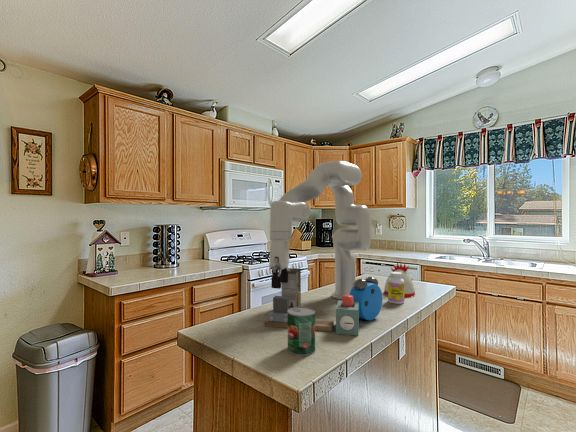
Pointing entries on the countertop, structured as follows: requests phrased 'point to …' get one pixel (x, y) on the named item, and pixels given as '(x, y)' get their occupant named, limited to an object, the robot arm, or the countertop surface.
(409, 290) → the kitchen timer
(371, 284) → the alarm clock
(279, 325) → the rail plank
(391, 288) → the supplement bottle
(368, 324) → the countertop surface
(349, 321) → the cabinet
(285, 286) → the coffee box
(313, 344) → the canned tomato
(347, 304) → the plunger
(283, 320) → the carriage
